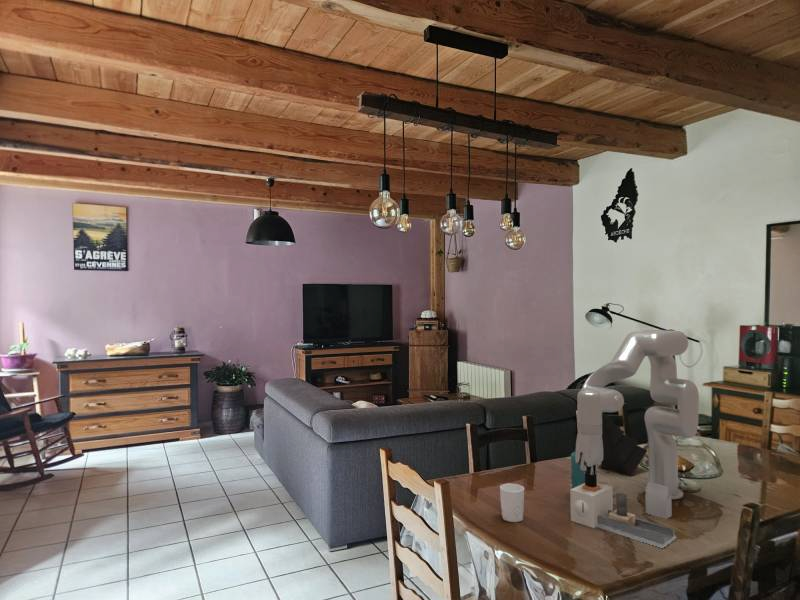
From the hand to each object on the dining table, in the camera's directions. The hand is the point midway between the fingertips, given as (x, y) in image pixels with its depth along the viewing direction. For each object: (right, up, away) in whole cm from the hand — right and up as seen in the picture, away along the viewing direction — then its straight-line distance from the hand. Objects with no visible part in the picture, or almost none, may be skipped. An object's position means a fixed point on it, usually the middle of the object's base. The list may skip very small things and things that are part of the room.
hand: (590, 485), depth 168 cm
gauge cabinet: (0, -11, 0) cm, 11 cm away
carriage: (+7, -9, -8) cm, 14 cm away
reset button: (0, -4, 0) cm, 4 cm away
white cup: (-25, -12, +2) cm, 28 cm away
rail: (+9, -11, -11) cm, 18 cm away
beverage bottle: (+3, -11, +18) cm, 22 cm away
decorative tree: (+27, -11, +47) cm, 55 cm away
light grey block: (+23, -11, +2) cm, 26 cm away
